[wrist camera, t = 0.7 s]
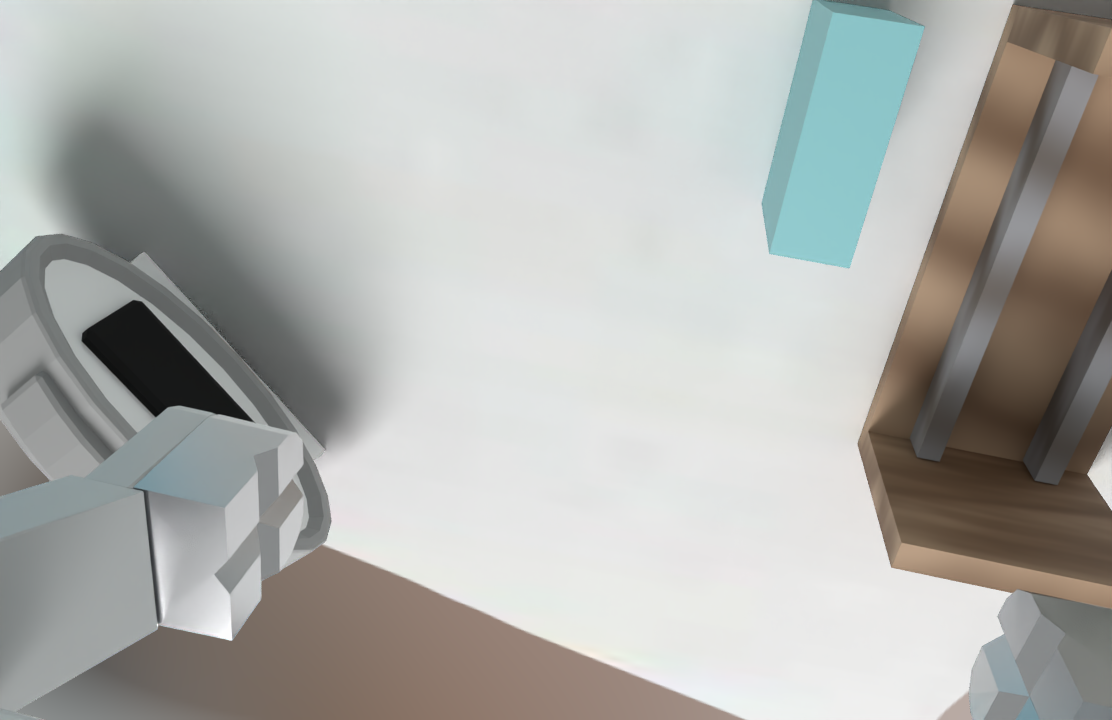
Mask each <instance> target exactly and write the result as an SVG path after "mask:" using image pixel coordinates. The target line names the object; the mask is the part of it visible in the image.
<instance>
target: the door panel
mask: <svg viewBox="0 0 1112 720" xmlns="http://www.w3.org/2000/svg"><path fill="white" fill-rule="evenodd" d="M924 28H925V26H923V25H920V24H918V23H916V22H914V21H912V20H909V19H907V18H905V17H903V16H901V15H898V14H896V13H894V12H892V11H890V10H885V9H878V8H872V7H865V6H859V5H852V4H846V3H839V2H833V1H826V0H813V1H812V5H811V9H810V13H809V17H808V21H807V25H806V29H805V33H804V37H803V41H802V45H801V49H800V53H799V57H798V61H797V65H796V69H795V73H794V77H793V81H792V85H791V89H790V93H789V97H788V101H787V105H786V109H785V113H784V117H783V121H782V125H781V129H780V133H779V137H778V141H777V144H776V148H775V152H774V156H773V160H772V164H771V168H770V172H769V176H768V180H767V184H766V188H765V192H764V196H763V200H762V209H763V216H764V222H765V229H766V235H767V242H768V248H769V254H773V255H778V256H784V257H790V258H795V259H801V260H806V261H812V262H817V263H823V264H828V265H834V266H839V267H845V268H850V265H851V262H852V258H853V255H854V252H855V249H856V246H857V242H858V239H859V236H860V233H861V230H862V226H863V223H864V220H865V217H866V214H867V210H868V207H869V204H870V201H871V198H872V194H873V191H874V188H875V185H876V182H877V178H878V175H879V172H880V169H881V166H882V162H883V159H884V156H885V153H886V149H887V146H888V143H889V140H890V137H891V133H892V130H893V127H894V124H895V121H896V117H897V114H898V111H899V108H900V105H901V101H902V98H903V95H904V92H905V89H906V85H907V82H908V79H909V76H910V73H911V69H912V66H913V63H914V60H915V57H916V53H917V50H918V47H919V44H920V41H921V37H922V34H923V31H924Z"/></svg>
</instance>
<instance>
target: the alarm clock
mask: <svg viewBox="0 0 1112 720" xmlns="http://www.w3.org/2000/svg"><path fill="white" fill-rule="evenodd" d="M174 406H183V407H188V408H193V409H197V410H202V411H207V412H211V413H214V414H216V415H218V414H220V415H224V416H229V417H233V418H237V419H241V420H245V421H249V422H254V423H258V424H262V425H266V426H270V427H275V428H279V429H283V430H287V431H291V432H296V433H297V434H298V435H299V437H300V438H301V439H302V440H303V466H302V467H301V468H300V470H299V471H298V472H297V473H296V475H295V476H294V477H293V481H294V482H295V484H296V485H297V486H298V488H299V489H300V491H301V492H302V494H303V495H304V497H303V517H302V523H301V528H300V533H299V535H298V538H297V541H296V543H295V546H294V548H293V551H292V553H291V556H290V557H289V559H288V560H287V562H286V563H285V565H284V566H283V568H284V567H286V566H288V565H290V564H292V563H293V562H295V561H297V560H299V559H300V558H302V557H304V556H305V555H307V554H309V553H311V552H312V551H313V550H314V549H316V548H317V547H319V546H320V545H322V544H323V543H324V542H325V541H326V539H327V536H328V532H329V528H330V525H331V515H330V508H329V501H328V495H327V493H326V490H325V487H324V485H323V482H322V480H321V477H320V474H319V472H318V469H317V467H316V464H315V463H314V461H313V460H315V459H316V458H318V457H320V456H321V455H322V454H323V453H324V451H325V449H324V448H323V447H322V446H321V444H320V443H319V442H318V441H317V440H316V439H315V438H314V437H313V436H312V435H311V433H310V432H309V431H308V430H307V429H306V428H305V427H304V426H303V425H302V424H301V423H300V421H299V420H298V419H297V418H296V417H295V416H294V415H293V414H292V413H291V412H290V410H289V409H288V408H287V407H286V406H285V405H284V404H283V403H282V402H281V401H280V399H279V398H278V397H277V396H276V395H275V394H274V393H273V392H272V391H271V390H270V389H269V387H268V386H267V385H266V384H265V383H264V382H263V381H262V380H261V379H260V378H259V376H258V375H257V374H256V373H255V372H254V371H253V370H252V369H251V368H250V367H249V365H248V364H247V363H246V362H245V361H244V360H243V359H242V358H241V357H240V356H239V355H238V353H237V352H236V351H235V350H234V349H233V348H232V347H231V346H230V345H229V344H228V342H227V341H226V340H225V339H224V338H223V337H222V336H221V335H220V334H219V333H218V332H217V330H216V329H215V328H214V327H213V326H212V325H211V324H210V323H209V322H208V321H207V319H206V318H205V317H204V316H203V315H202V314H201V313H200V312H199V311H198V310H197V308H196V307H195V306H194V305H193V304H192V303H191V302H190V301H189V300H188V299H187V298H186V296H185V295H184V294H183V293H182V292H181V291H180V290H179V289H178V288H177V287H176V285H175V284H174V283H173V282H172V281H171V280H170V279H169V278H168V277H167V276H166V274H165V273H164V272H163V271H162V270H161V269H160V268H159V267H158V266H157V265H156V264H155V262H154V261H153V260H152V259H151V258H150V257H149V256H148V255H147V254H146V253H145V252H143V253H141V254H140V255H138V256H137V257H136V258H135V259H133V260H132V261H131V262H128V261H127V260H125V259H123V258H121V257H119V256H117V255H115V254H113V253H111V252H110V251H108V250H106V249H104V248H102V247H100V246H98V245H96V244H94V243H92V242H89V241H85V240H82V239H78V238H75V237H71V236H68V235H65V234H54V235H44V236H37V237H35V238H34V239H33V240H32V241H31V242H30V243H29V244H28V245H27V246H26V247H25V248H24V249H23V250H21V251H20V252H19V253H18V254H17V255H16V256H15V257H14V258H13V259H12V260H11V261H10V262H9V263H8V264H7V265H6V266H5V267H4V268H3V269H2V270H1V271H0V420H1V421H2V423H3V424H4V426H5V427H6V428H7V430H8V431H9V432H10V434H11V435H12V436H13V438H14V439H15V440H16V442H17V443H18V445H19V446H20V447H21V448H22V450H23V451H24V453H25V454H26V455H27V456H28V457H29V459H30V460H31V461H32V462H33V463H34V464H35V465H36V466H37V467H38V468H39V469H40V470H41V471H42V472H43V473H44V475H45V476H46V477H47V478H48V479H49V480H50V481H53V480H57V479H60V478H63V477H67V476H70V475H73V476H78V477H83V478H85V477H86V476H87V475H88V474H90V473H91V472H92V471H93V470H94V469H96V468H97V467H98V466H99V465H100V464H101V463H103V462H104V461H105V460H106V459H107V458H109V457H110V456H111V455H112V454H113V453H114V452H116V451H117V450H118V449H119V448H120V447H122V446H123V445H124V444H125V443H126V442H128V441H129V440H130V439H131V438H132V437H133V436H135V435H136V434H137V433H138V432H139V431H141V430H142V429H143V428H144V427H145V426H146V425H148V424H149V423H150V422H151V421H152V420H154V419H155V418H156V417H157V416H158V415H159V414H161V413H162V412H163V411H164V410H165V409H167V408H168V407H174ZM283 568H282V569H283ZM263 580H264V579H263ZM261 581H262V580H261Z"/></svg>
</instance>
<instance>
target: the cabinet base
mask: <svg viewBox="0 0 1112 720" xmlns="http://www.w3.org/2000/svg"><path fill="white" fill-rule="evenodd" d="M1111 427H1112V19H1105V18H1098V17H1092V16H1085V15H1078V14H1072V13H1065V12H1059V11H1052V10H1045V9H1039V8H1032V7H1025V6H1019V5H1013V6H1012V8H1011V11H1010V14H1009V17H1008V20H1007V23H1006V25H1005V28H1004V31H1003V34H1002V37H1001V40H1000V42H999V45H998V48H997V51H996V54H995V56H994V59H993V62H992V65H991V68H990V71H989V73H988V76H987V79H986V82H985V85H984V88H983V90H982V93H981V96H980V99H979V102H978V105H977V107H976V110H975V113H974V116H973V119H972V122H971V124H970V127H969V130H968V133H967V136H966V139H965V141H964V144H963V147H962V150H961V153H960V156H959V158H958V161H957V164H956V167H955V170H954V172H953V175H952V178H951V181H950V184H949V187H948V189H947V192H946V195H945V198H944V201H943V204H942V206H941V209H940V212H939V215H938V218H937V221H936V223H935V226H934V229H933V232H932V235H931V238H930V240H929V243H928V246H927V249H926V252H925V255H924V257H923V260H922V263H921V266H920V269H919V272H918V274H917V277H916V280H915V283H914V286H913V288H912V291H911V294H910V297H909V300H908V303H907V305H906V308H905V311H904V314H903V317H902V320H901V322H900V325H899V328H898V331H897V334H896V337H895V339H894V342H893V345H892V348H891V351H890V354H889V356H888V359H887V362H886V365H885V368H884V371H883V373H882V376H881V379H880V382H879V385H878V388H877V390H876V393H875V396H874V399H873V402H872V404H871V407H870V410H869V413H868V416H867V419H866V421H865V424H864V427H863V430H862V433H861V436H860V438H859V441H858V447H859V451H860V455H861V458H862V462H863V466H864V469H865V473H866V477H867V480H868V484H869V488H870V491H871V495H872V499H873V502H874V506H875V509H876V513H877V517H878V520H879V524H880V528H881V531H882V535H883V539H884V542H885V546H886V550H887V553H888V557H889V560H890V564H891V568H896V569H901V570H906V571H910V572H915V573H920V574H925V575H929V576H934V577H939V578H944V579H948V580H953V581H958V582H963V583H967V584H972V585H977V586H982V587H986V588H991V589H996V590H1001V591H1005V592H1010V593H1014V592H1015V591H1016V590H1017V589H1019V590H1024V591H1029V592H1034V593H1038V594H1043V595H1048V596H1053V597H1058V598H1063V599H1067V600H1072V601H1077V602H1082V603H1087V604H1092V605H1096V606H1101V607H1106V608H1111V609H1112V510H1111V509H1110V508H1109V506H1108V505H1107V503H1106V502H1105V500H1104V499H1103V497H1102V496H1101V494H1100V493H1099V491H1098V490H1097V489H1096V487H1095V486H1094V484H1093V483H1092V481H1091V480H1090V478H1089V477H1088V475H1087V473H1088V471H1089V469H1090V468H1091V466H1092V464H1093V462H1094V460H1095V458H1096V456H1097V454H1098V452H1099V450H1100V448H1101V446H1102V444H1103V442H1104V440H1105V438H1106V436H1107V434H1108V433H1109V431H1110V429H1111Z"/></svg>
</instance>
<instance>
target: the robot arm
mask: <svg viewBox="0 0 1112 720" xmlns="http://www.w3.org/2000/svg"><path fill="white" fill-rule="evenodd" d="M302 466H303V440H302V439H301V438H300V437H299V435H298V434H297V433H296V432H291V431H287V430H283V429H279V428H275V427H270V426H266V425H262V424H258V423H254V422H249V421H245V420H241V419H237V418H233V417H229V416H224V415H220V414H218V415H216V414H214V413H211V412H207V411H202V410H197V409H193V408H188V407H183V406H174V407H168V408H167V409H165V410H164V411H163V412H162V413H161V414H159V415H158V416H157V417H156V418H155V419H154V420H152V421H151V422H150V423H149V424H148V425H146V426H145V427H144V428H143V429H142V430H141V431H139V432H138V433H137V434H136V435H135V436H133V437H132V438H131V439H130V440H129V441H128V442H126V443H125V444H124V445H123V446H122V447H120V448H119V449H118V450H117V451H116V452H114V453H113V454H112V455H111V456H110V457H109V458H107V459H106V460H105V461H104V462H103V463H101V464H100V465H99V466H98V467H97V468H96V469H94V470H93V471H92V472H91V473H90V474H88V475H87V476H86V477H85V478H83V477H78V476H73V475H70V476H67V477H63V478H60V479H57V480H53V481H50V482H47V483H43V484H40V485H37V486H34V487H30V488H27V489H24V490H20V491H17V492H13V493H10V494H7V495H3V496H0V720H45V719H41V718H37V717H33V716H29V715H25V714H21V713H17V712H15V711H17V710H19V709H21V708H22V707H24V706H26V705H28V704H29V703H31V702H33V701H34V700H36V699H38V698H40V697H41V696H43V695H45V694H46V693H48V692H50V691H52V690H53V689H55V688H57V687H58V686H60V685H62V684H64V683H66V682H67V681H69V680H71V679H73V678H74V677H76V676H78V675H79V674H81V673H83V672H85V671H86V670H88V669H90V668H92V667H93V666H95V665H97V664H98V663H100V662H102V661H104V660H105V659H107V658H109V657H110V656H112V655H114V654H116V653H117V652H119V651H121V650H123V649H124V648H126V647H128V646H129V645H131V644H133V643H135V642H137V641H138V640H140V639H142V638H143V637H145V636H147V635H149V634H150V633H152V632H154V631H156V630H157V629H158V625H161V626H165V627H170V628H175V629H180V630H184V631H189V632H194V633H199V634H204V635H208V636H213V637H218V638H223V639H227V640H233V638H234V637H235V635H236V634H237V633H238V631H239V630H240V628H241V627H242V626H243V624H244V623H245V621H246V620H247V618H248V617H249V615H250V614H251V613H252V611H253V610H254V608H255V607H256V605H257V604H258V603H259V601H260V600H261V580H263V579H266V578H268V577H270V576H272V575H274V574H276V573H279V572H280V570H281V569H282V568H283V566H284V565H285V563H286V562H287V560H288V559H289V557H290V556H291V553H292V551H293V548H294V546H295V543H296V541H297V538H298V535H299V533H300V528H301V523H302V517H303V497H304V495H303V494H302V492H301V491H300V489H299V488H298V486H297V485H296V484H295V482H294V481H293V477H294V476H295V475H296V473H297V472H298V471H299V470H300V468H301V467H302ZM998 619H999V622H1000V624H1001V627H1002V629H1003V632H1004V635H1002V636H1000V637H998V638H996V639H994V640H993V641H991V642H989V643H987V644H985V645H983V646H982V648H981V650H980V652H979V654H978V657H977V659H976V661H975V663H974V665H973V668H972V672H971V680H970V687H969V702H970V711H971V716H972V719H973V720H1112V609H1111V608H1106V607H1101V606H1096V605H1092V604H1087V603H1082V602H1077V601H1072V600H1067V599H1063V598H1058V597H1053V596H1048V595H1043V594H1038V593H1034V592H1029V591H1024V590H1019V589H1017V590H1016V591H1015V592H1014V593H1012V594H1011V595H1010V596H1009V597H1008V598H1007V599H1006V601H1005V603H1004V605H1003V607H1002V608H1001V610H1000V612H999V614H998Z"/></svg>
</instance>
